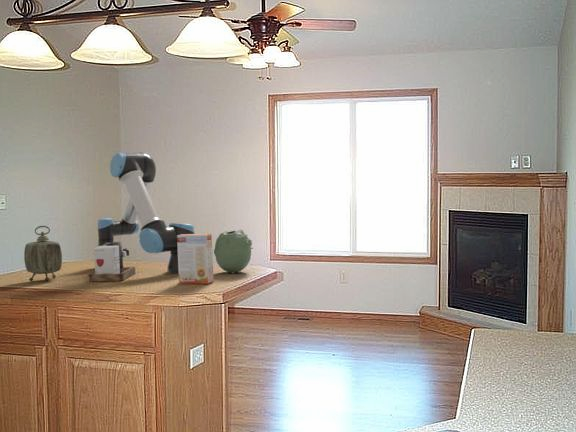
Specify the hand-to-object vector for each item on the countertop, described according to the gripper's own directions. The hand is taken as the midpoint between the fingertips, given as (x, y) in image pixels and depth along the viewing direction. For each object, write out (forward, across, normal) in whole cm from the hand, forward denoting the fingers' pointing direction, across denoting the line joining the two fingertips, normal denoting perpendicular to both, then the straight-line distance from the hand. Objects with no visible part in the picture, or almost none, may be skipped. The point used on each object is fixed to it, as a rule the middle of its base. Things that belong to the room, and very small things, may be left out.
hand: (120, 255), depth 314 cm
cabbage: (+24, -47, -10) cm, 53 cm away
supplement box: (+8, +8, -10) cm, 15 cm away
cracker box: (+42, -23, -10) cm, 48 cm away
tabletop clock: (-7, +33, -10) cm, 35 cm away
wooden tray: (+4, +5, -10) cm, 11 cm away
